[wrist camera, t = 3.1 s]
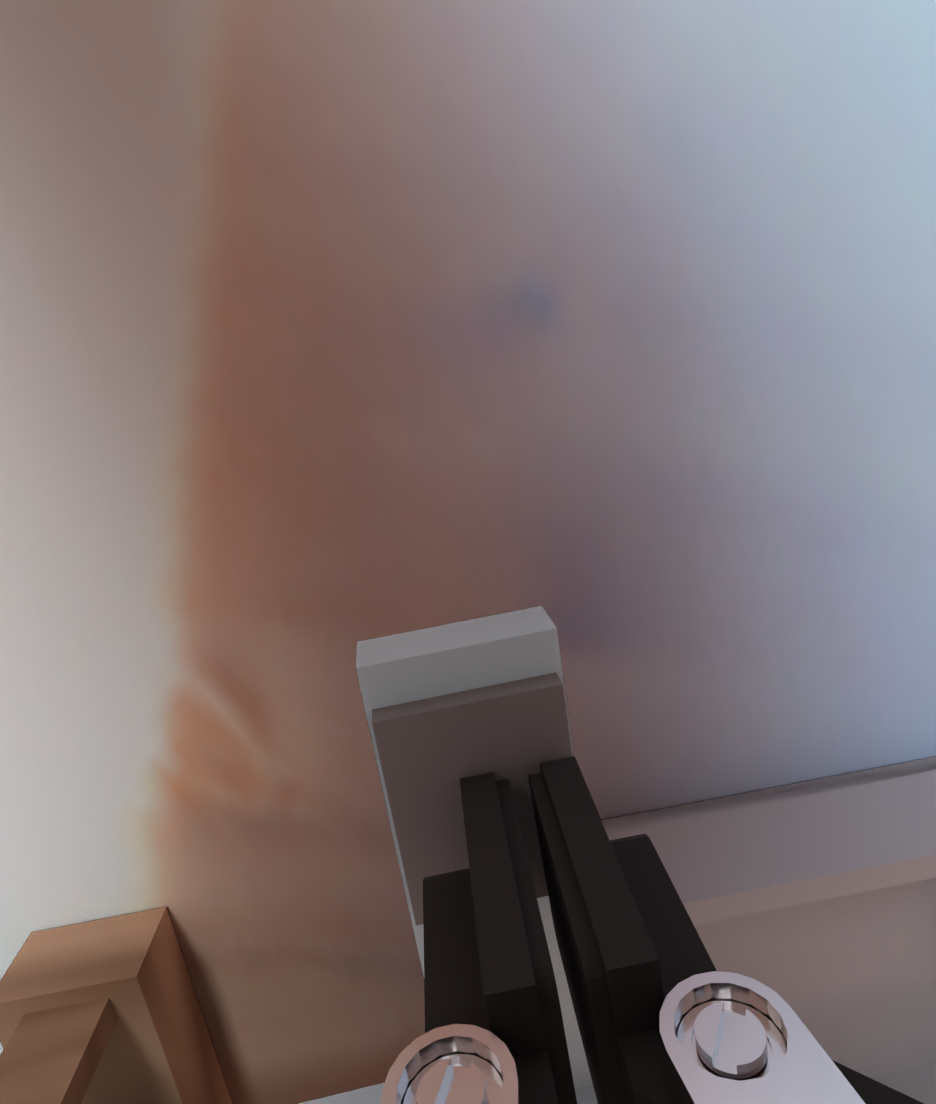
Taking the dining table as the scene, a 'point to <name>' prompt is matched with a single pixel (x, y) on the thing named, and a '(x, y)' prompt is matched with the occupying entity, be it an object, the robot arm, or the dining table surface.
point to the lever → (466, 757)
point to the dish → (821, 906)
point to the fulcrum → (105, 1018)
